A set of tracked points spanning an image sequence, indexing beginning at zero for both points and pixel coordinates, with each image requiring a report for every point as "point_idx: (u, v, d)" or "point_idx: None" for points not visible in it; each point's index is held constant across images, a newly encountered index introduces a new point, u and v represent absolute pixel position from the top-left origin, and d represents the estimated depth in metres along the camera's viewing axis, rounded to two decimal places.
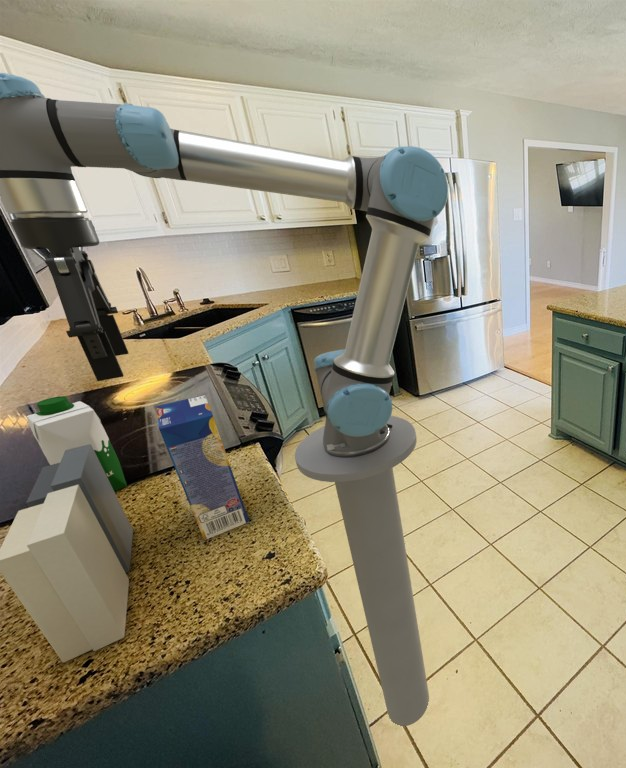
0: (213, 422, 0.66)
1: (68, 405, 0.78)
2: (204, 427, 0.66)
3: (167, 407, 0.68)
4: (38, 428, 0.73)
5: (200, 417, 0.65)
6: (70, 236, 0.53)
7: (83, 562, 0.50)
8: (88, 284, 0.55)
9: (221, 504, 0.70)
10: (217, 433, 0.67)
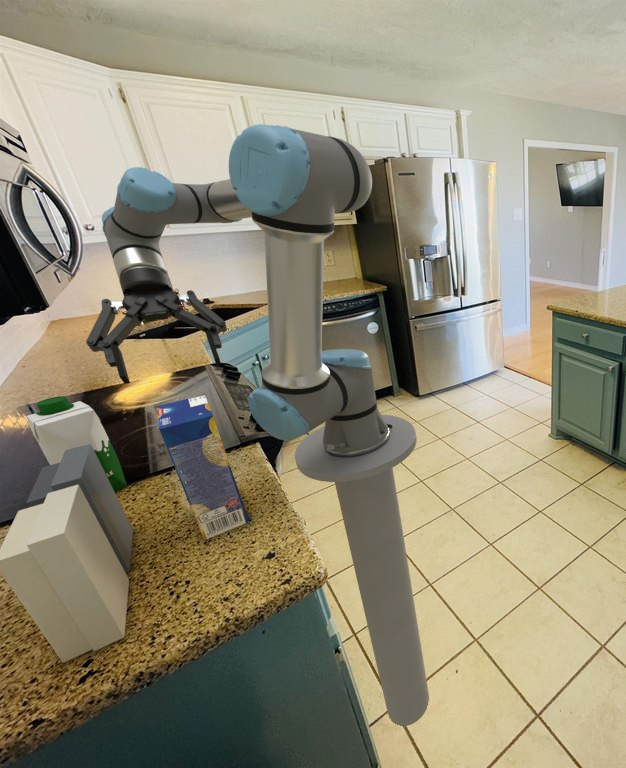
0: (213, 422, 0.66)
1: (68, 405, 0.78)
2: (204, 427, 0.66)
3: (167, 407, 0.69)
4: (38, 428, 0.73)
5: (200, 417, 0.65)
6: (122, 285, 0.76)
7: (83, 562, 0.50)
8: None
9: (221, 504, 0.70)
10: (217, 433, 0.67)
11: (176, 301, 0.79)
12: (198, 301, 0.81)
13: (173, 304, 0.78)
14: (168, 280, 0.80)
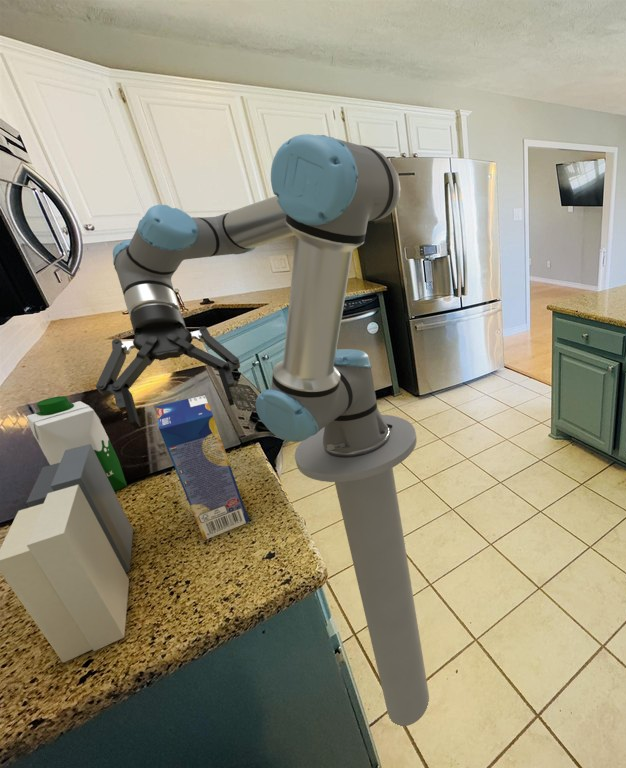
0: (213, 422, 0.66)
1: (68, 405, 0.78)
2: (204, 427, 0.66)
3: (167, 407, 0.69)
4: (38, 428, 0.73)
5: (200, 417, 0.65)
6: (133, 324, 0.73)
7: (83, 562, 0.50)
8: None
9: (221, 504, 0.70)
10: (217, 433, 0.67)
11: (188, 338, 0.76)
12: (211, 338, 0.78)
13: (185, 342, 0.75)
14: (180, 316, 0.77)
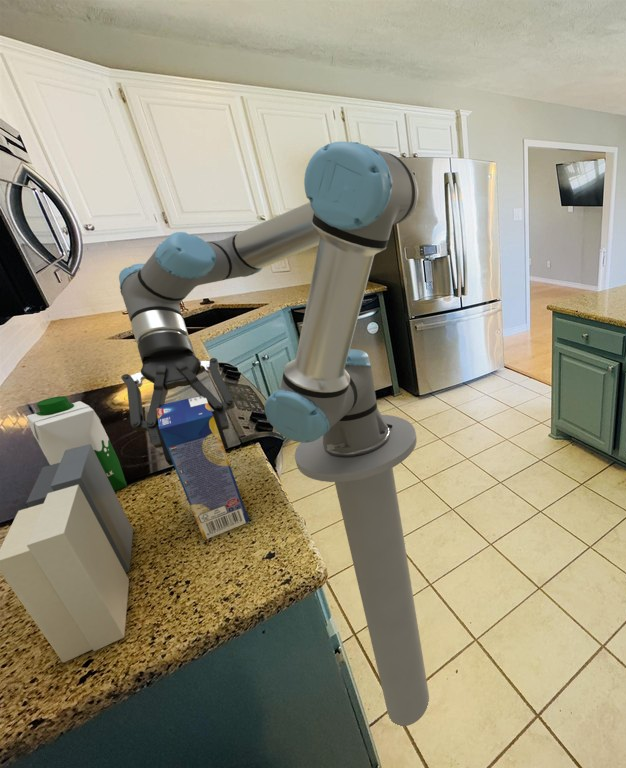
0: (213, 422, 0.66)
1: (68, 405, 0.78)
2: (204, 427, 0.66)
3: (167, 407, 0.69)
4: (38, 428, 0.73)
5: (200, 417, 0.65)
6: (140, 352, 0.71)
7: (83, 562, 0.50)
8: None
9: (221, 504, 0.70)
10: (217, 433, 0.67)
11: (197, 366, 0.74)
12: (217, 371, 0.75)
13: (191, 374, 0.72)
14: (189, 343, 0.75)
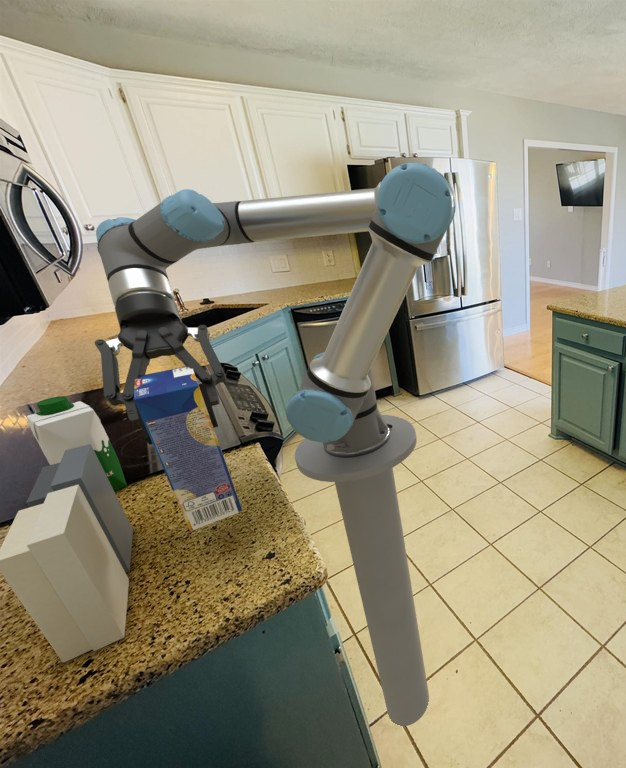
0: (199, 394, 0.57)
1: (68, 405, 0.78)
2: (189, 400, 0.56)
3: (147, 378, 0.59)
4: (38, 428, 0.73)
5: (183, 387, 0.56)
6: (118, 316, 0.61)
7: (83, 562, 0.50)
8: (132, 354, 0.60)
9: (209, 490, 0.61)
10: (204, 407, 0.58)
11: (184, 333, 0.65)
12: (206, 340, 0.66)
13: (175, 341, 0.63)
14: (174, 307, 0.66)
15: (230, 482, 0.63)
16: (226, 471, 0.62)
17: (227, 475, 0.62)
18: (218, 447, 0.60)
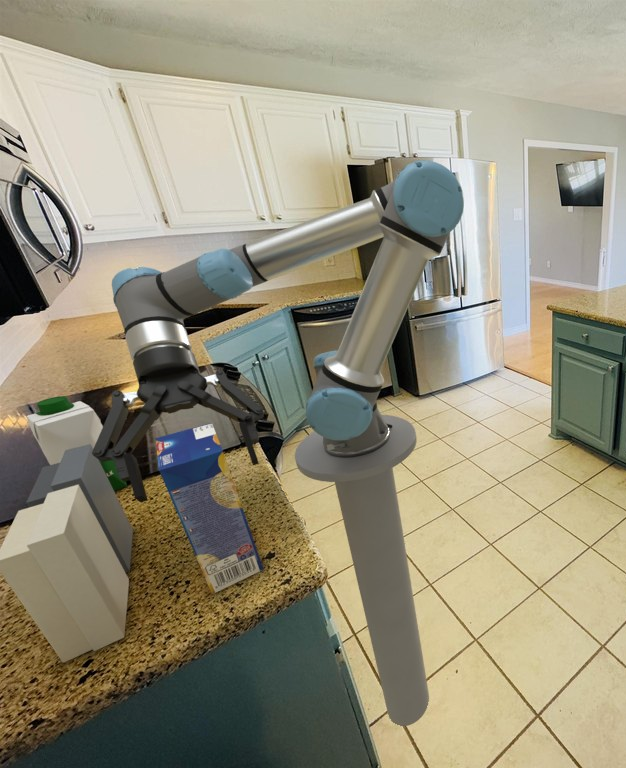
0: (223, 459, 0.56)
1: (68, 405, 0.78)
2: (213, 465, 0.55)
3: (168, 440, 0.58)
4: (38, 428, 0.73)
5: (208, 454, 0.55)
6: (136, 371, 0.60)
7: (83, 562, 0.50)
8: None
9: (231, 552, 0.60)
10: (227, 471, 0.57)
11: (203, 385, 0.64)
12: (229, 383, 0.65)
13: (200, 391, 0.63)
14: (193, 359, 0.65)
15: (252, 542, 0.62)
16: (248, 532, 0.61)
17: (249, 536, 0.61)
18: (241, 509, 0.59)
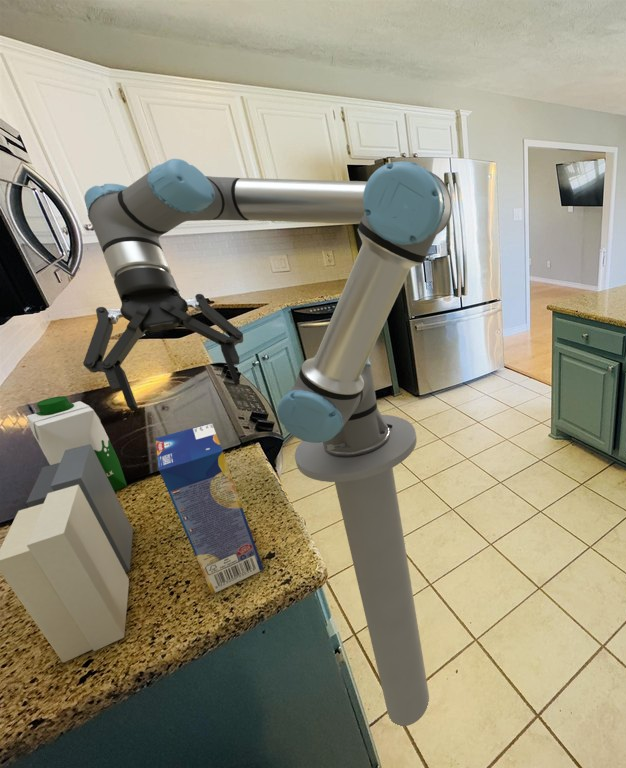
0: (223, 459, 0.56)
1: (68, 405, 0.78)
2: (213, 465, 0.55)
3: (168, 440, 0.58)
4: (38, 428, 0.73)
5: (208, 454, 0.55)
6: (118, 289, 0.64)
7: (83, 562, 0.50)
8: None
9: (231, 552, 0.60)
10: (227, 471, 0.57)
11: (184, 308, 0.68)
12: (210, 308, 0.69)
13: (181, 313, 0.67)
14: (172, 281, 0.68)
15: (252, 542, 0.62)
16: (248, 532, 0.61)
17: (249, 536, 0.61)
18: (241, 509, 0.59)
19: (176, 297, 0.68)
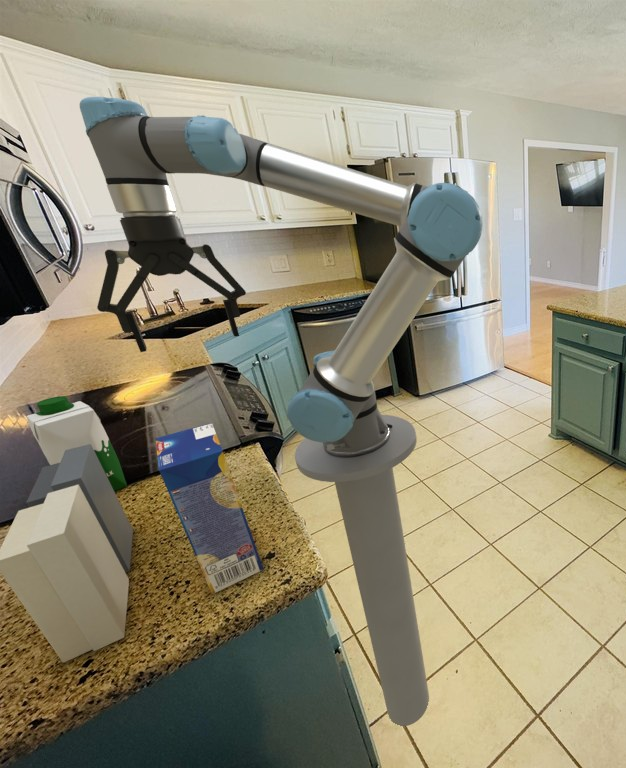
0: (223, 459, 0.56)
1: (68, 405, 0.78)
2: (213, 465, 0.55)
3: (168, 440, 0.58)
4: (38, 428, 0.73)
5: (208, 454, 0.55)
6: (126, 233, 0.63)
7: (83, 562, 0.50)
8: (137, 273, 0.65)
9: (231, 552, 0.60)
10: (227, 471, 0.57)
11: (191, 257, 0.69)
12: (216, 261, 0.71)
13: (189, 266, 0.69)
14: (180, 228, 0.67)
15: (252, 542, 0.62)
16: (248, 532, 0.61)
17: (249, 536, 0.61)
18: (241, 509, 0.59)
19: (183, 246, 0.68)
